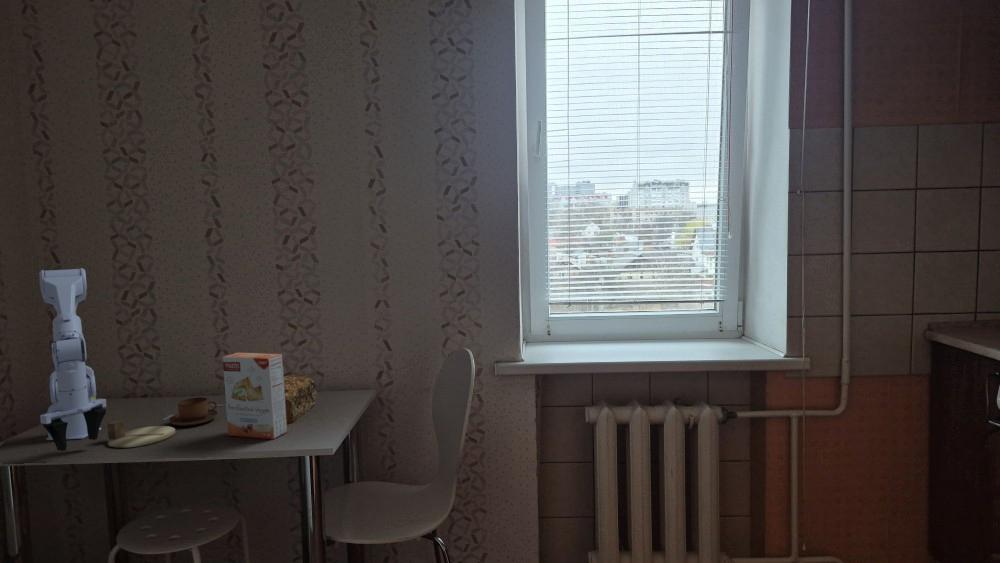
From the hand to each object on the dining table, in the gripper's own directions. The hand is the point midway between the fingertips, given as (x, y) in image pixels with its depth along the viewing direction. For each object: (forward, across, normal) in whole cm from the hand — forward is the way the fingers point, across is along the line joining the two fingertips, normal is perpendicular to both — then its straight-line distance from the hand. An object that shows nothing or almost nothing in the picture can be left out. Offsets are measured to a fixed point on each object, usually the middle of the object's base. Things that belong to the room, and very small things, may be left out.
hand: (77, 444), depth 145 cm
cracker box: (+3, +22, -34) cm, 40 cm away
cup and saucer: (+3, +27, -7) cm, 29 cm away
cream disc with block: (+2, +13, -5) cm, 14 cm away
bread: (+3, +40, -30) cm, 50 cm away
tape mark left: (+2, +29, +4) cm, 29 cm away
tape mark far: (+2, +43, -2) cm, 43 cm away
